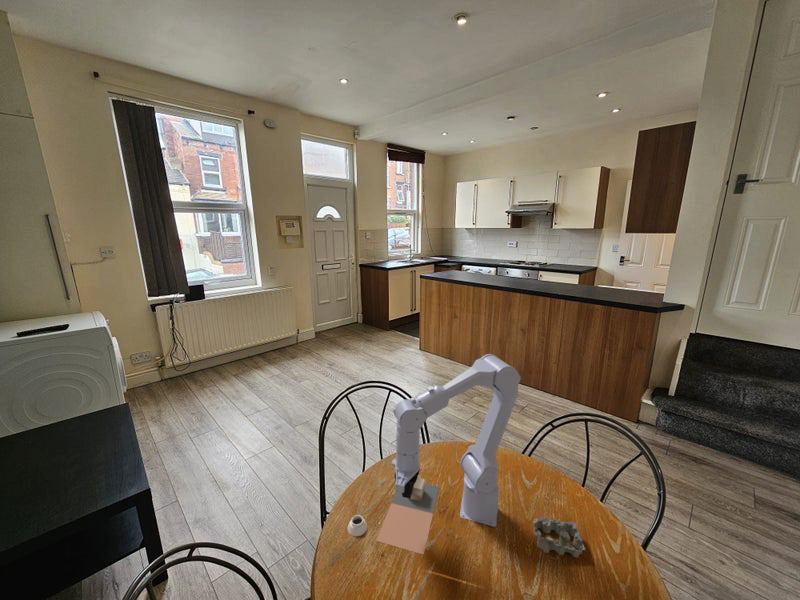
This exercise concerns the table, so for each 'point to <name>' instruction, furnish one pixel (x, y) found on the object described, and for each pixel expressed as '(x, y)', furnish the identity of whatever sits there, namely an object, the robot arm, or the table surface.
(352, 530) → the white jar
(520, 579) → the table surface
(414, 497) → the cream block
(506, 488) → the table surface
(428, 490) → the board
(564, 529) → the egg carton
